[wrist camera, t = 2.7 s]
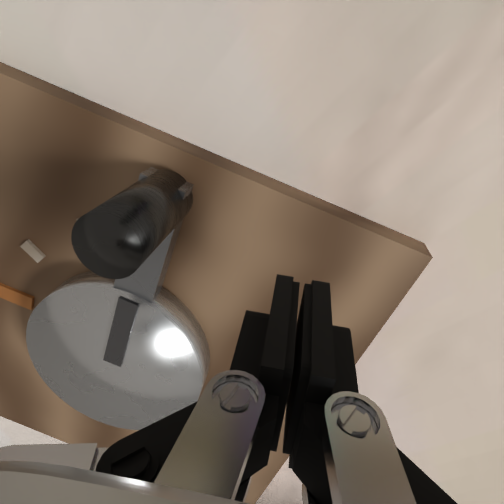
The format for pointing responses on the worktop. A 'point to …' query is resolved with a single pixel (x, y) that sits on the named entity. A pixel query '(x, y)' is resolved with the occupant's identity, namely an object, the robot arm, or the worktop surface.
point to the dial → (123, 312)
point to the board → (186, 248)
